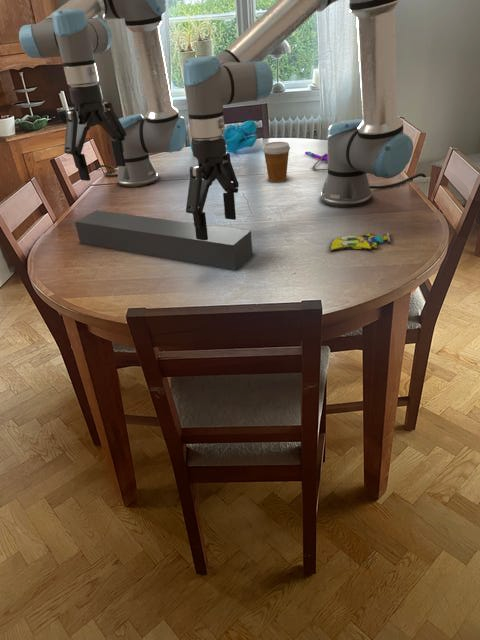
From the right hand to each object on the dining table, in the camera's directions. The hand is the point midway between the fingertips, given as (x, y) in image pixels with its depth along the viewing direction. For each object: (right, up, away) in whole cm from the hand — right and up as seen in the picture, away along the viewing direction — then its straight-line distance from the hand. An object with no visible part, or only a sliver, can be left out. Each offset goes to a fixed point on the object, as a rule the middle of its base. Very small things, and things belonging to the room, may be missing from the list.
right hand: (217, 228), depth 116 cm
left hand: (-31, +17, +12) cm, 37 cm away
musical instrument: (+37, +38, +69) cm, 87 cm away
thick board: (-16, -3, +13) cm, 20 cm away
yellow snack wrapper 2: (+36, -3, +6) cm, 37 cm away
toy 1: (-1, +52, +95) cm, 108 cm away
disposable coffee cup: (+19, +28, +56) cm, 65 cm away
